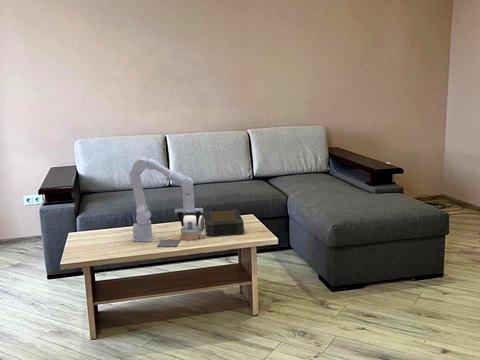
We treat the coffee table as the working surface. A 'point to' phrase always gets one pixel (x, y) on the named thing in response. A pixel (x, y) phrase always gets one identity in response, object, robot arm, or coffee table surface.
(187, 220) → the mug
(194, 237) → the bowl
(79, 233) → the coffee table surface
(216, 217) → the cash box
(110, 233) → the coffee table surface
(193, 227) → the lid
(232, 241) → the coffee table surface
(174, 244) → the mat
